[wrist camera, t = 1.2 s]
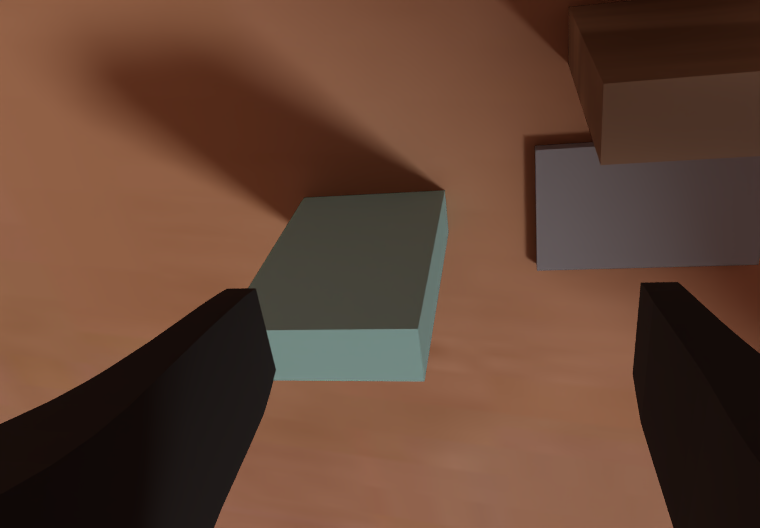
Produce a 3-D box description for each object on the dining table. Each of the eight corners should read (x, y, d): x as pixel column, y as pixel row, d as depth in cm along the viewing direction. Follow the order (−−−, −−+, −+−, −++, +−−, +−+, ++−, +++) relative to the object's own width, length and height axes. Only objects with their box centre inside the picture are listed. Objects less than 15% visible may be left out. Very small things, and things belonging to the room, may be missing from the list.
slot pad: (754, 258, 22) (758, 264, 22) (536, 264, 23) (537, 270, 23) (776, 130, 20) (781, 134, 19) (535, 145, 21) (535, 150, 21)
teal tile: (448, 232, 23) (424, 381, 16) (312, 237, 24) (236, 379, 18) (444, 190, 23) (417, 329, 16) (304, 197, 24) (221, 330, 17)
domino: (751, 47, 19) (890, 148, 12) (568, 63, 20) (600, 164, 13) (760, -13, 18) (913, 58, 11) (569, 6, 19) (603, 84, 12)
